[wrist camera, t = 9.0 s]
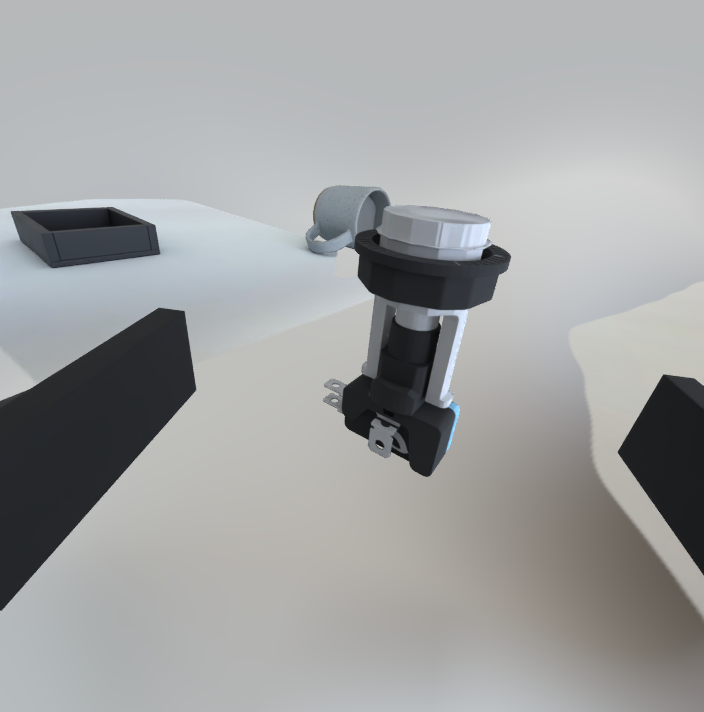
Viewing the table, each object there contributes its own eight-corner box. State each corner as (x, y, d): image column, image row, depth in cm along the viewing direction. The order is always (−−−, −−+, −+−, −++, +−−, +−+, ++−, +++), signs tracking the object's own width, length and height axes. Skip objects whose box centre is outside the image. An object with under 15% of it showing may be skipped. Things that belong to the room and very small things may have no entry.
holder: (52, 268, 33) (41, 233, 32) (20, 240, 40) (10, 211, 38) (160, 254, 40) (155, 225, 38) (118, 232, 46) (112, 207, 45)
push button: (292, 431, 17) (293, 200, 12) (356, 383, 21) (376, 194, 16) (421, 507, 14) (493, 239, 9) (468, 434, 18) (535, 220, 13)
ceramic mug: (342, 236, 55) (345, 179, 51) (389, 248, 51) (396, 187, 47) (290, 247, 47) (289, 181, 43) (339, 262, 43) (343, 190, 39)
